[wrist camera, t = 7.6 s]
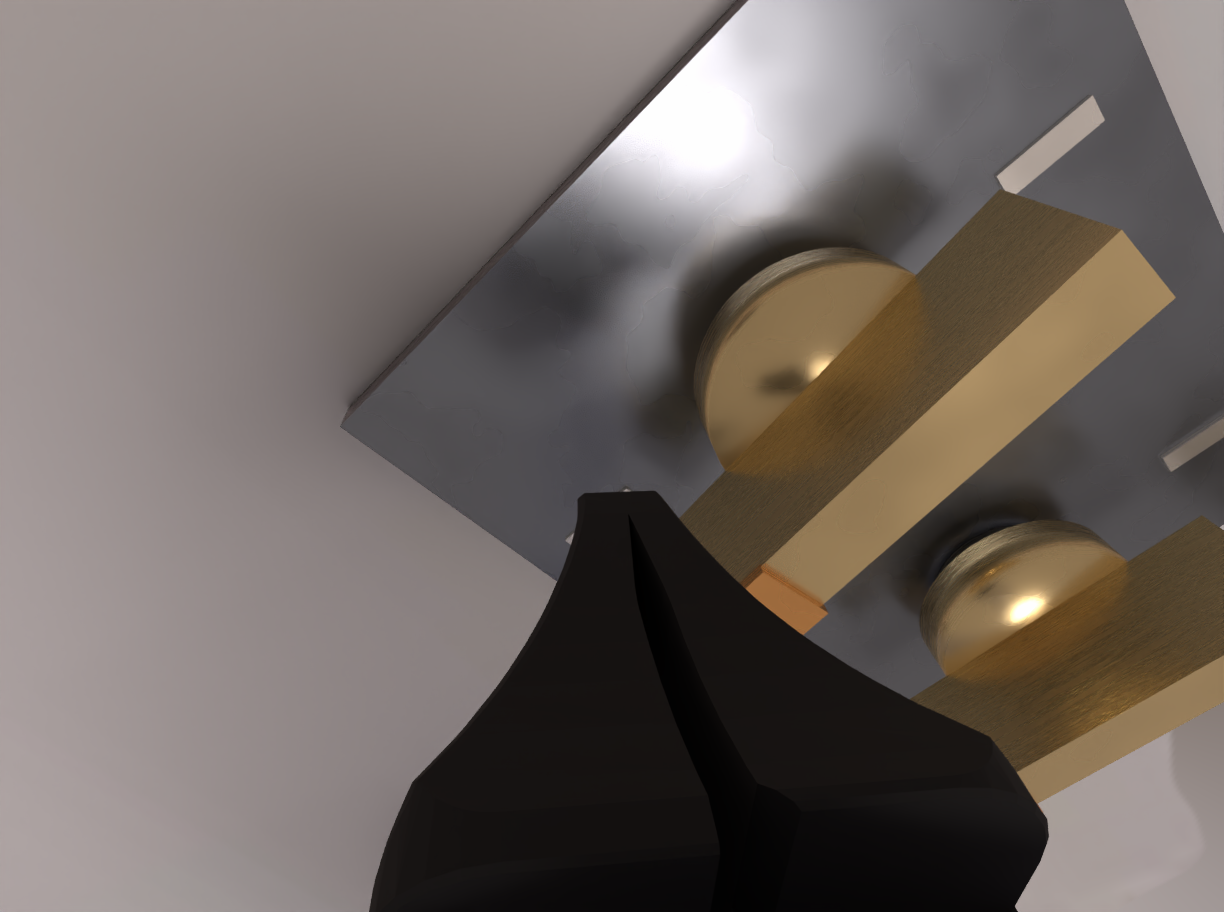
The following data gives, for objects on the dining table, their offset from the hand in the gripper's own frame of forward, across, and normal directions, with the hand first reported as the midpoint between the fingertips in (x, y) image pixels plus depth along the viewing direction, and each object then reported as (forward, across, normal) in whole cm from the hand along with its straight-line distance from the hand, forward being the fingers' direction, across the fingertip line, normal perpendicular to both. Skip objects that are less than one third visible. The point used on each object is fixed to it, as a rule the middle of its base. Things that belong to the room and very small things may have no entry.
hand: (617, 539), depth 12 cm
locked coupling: (+6, -13, +7) cm, 16 cm away
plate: (+8, -8, +2) cm, 11 cm away
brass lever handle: (+5, -5, -1) cm, 8 cm away
